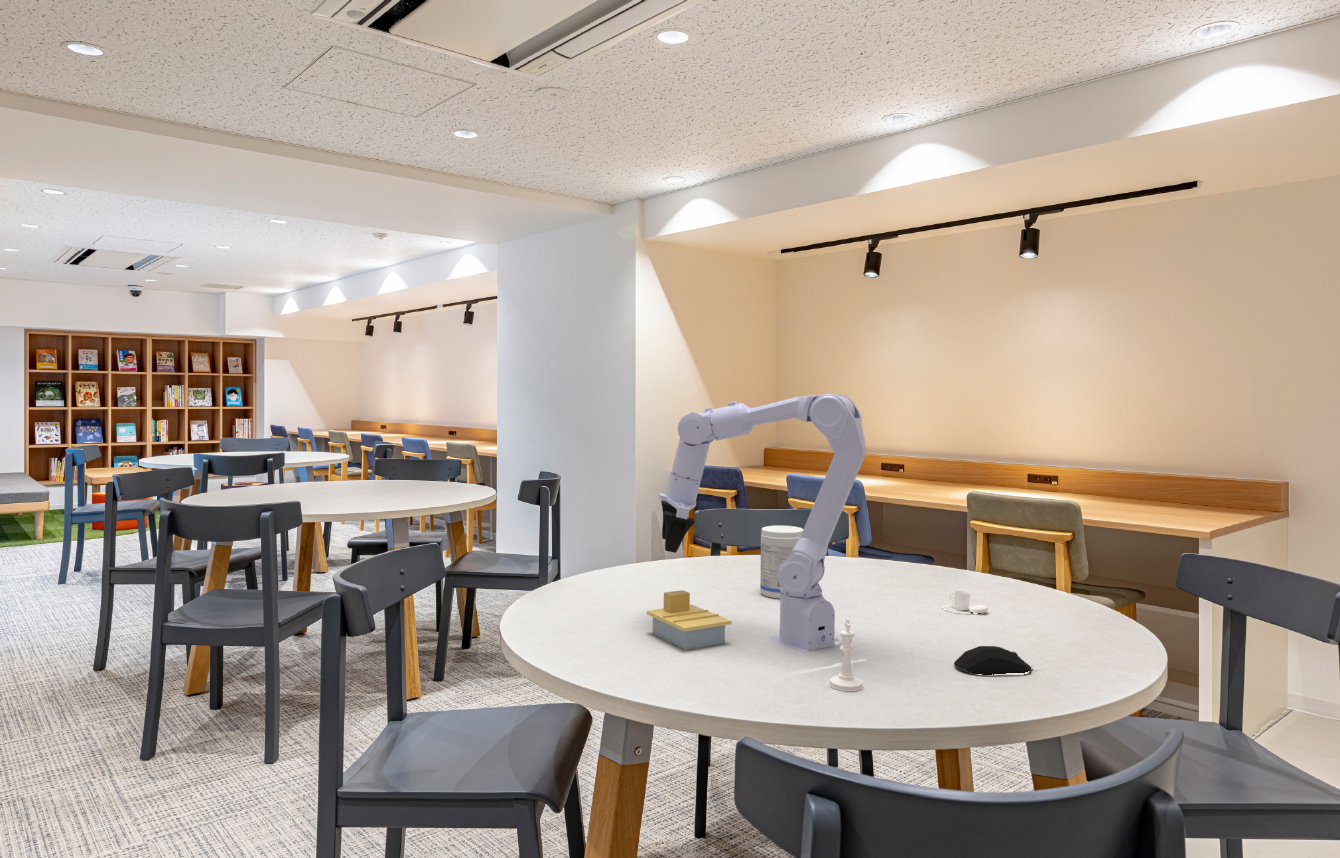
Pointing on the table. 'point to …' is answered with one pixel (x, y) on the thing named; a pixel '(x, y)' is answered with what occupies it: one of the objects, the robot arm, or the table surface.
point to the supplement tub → (775, 555)
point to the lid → (686, 613)
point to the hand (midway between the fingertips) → (668, 545)
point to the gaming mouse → (991, 661)
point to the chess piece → (846, 665)
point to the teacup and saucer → (965, 602)
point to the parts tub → (689, 635)
